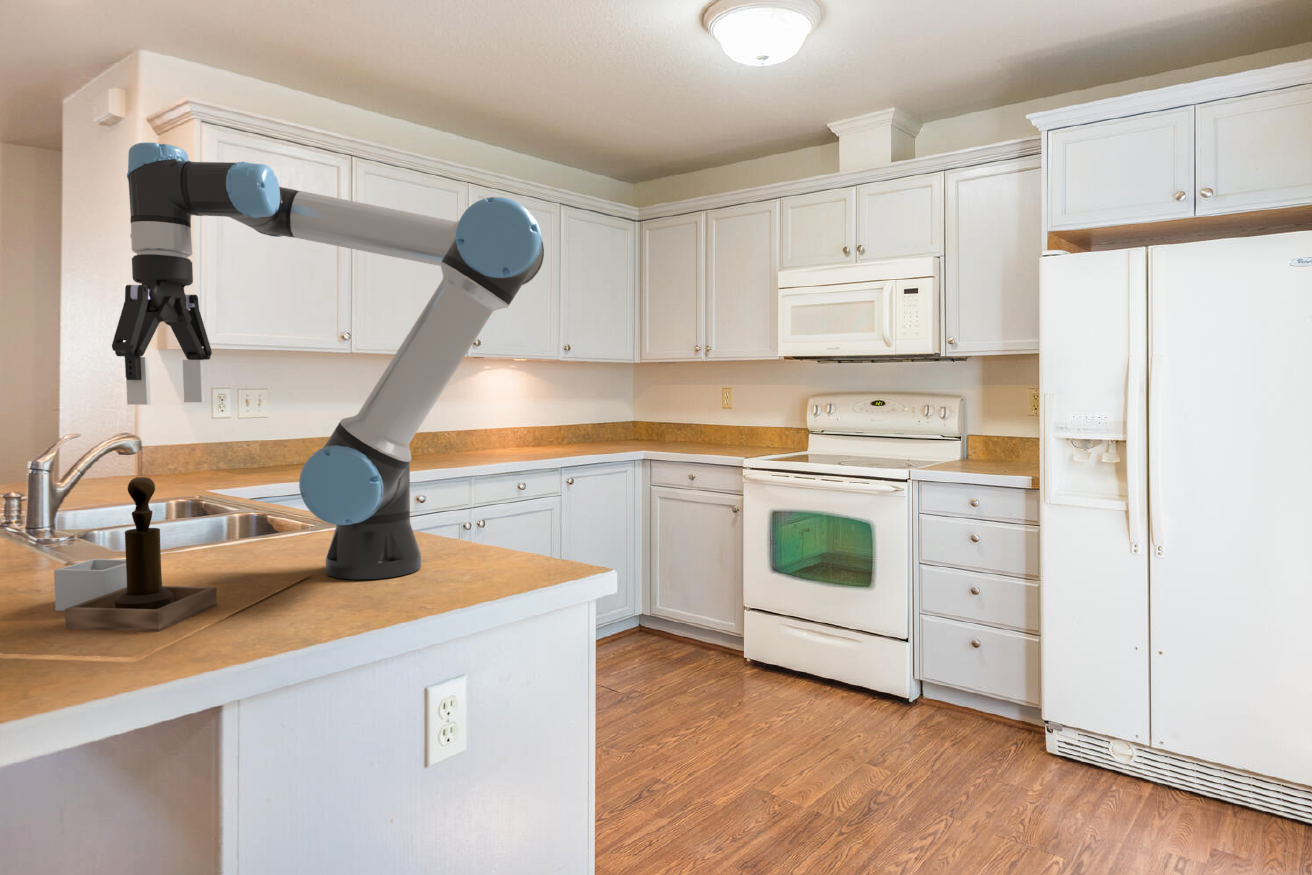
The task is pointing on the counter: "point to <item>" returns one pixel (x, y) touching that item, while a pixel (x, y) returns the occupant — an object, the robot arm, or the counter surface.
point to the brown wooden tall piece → (143, 554)
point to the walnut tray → (139, 611)
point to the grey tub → (88, 581)
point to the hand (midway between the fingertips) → (168, 403)
